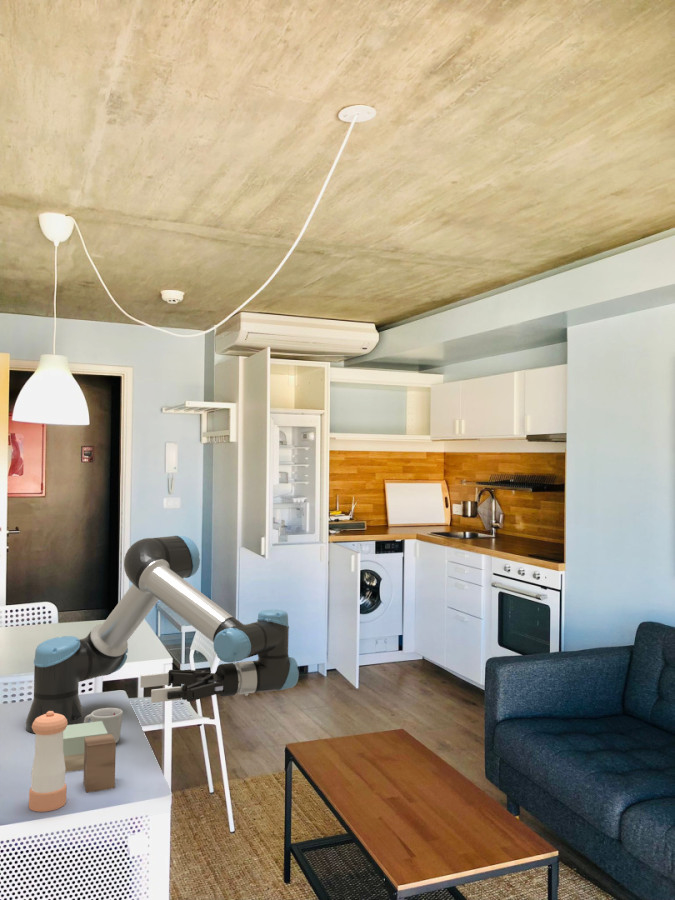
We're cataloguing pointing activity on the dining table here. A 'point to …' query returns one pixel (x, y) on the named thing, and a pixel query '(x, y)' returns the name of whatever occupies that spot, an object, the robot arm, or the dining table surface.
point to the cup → (108, 720)
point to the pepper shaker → (48, 763)
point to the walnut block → (99, 762)
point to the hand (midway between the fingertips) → (145, 688)
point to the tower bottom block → (74, 762)
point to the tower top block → (80, 736)
